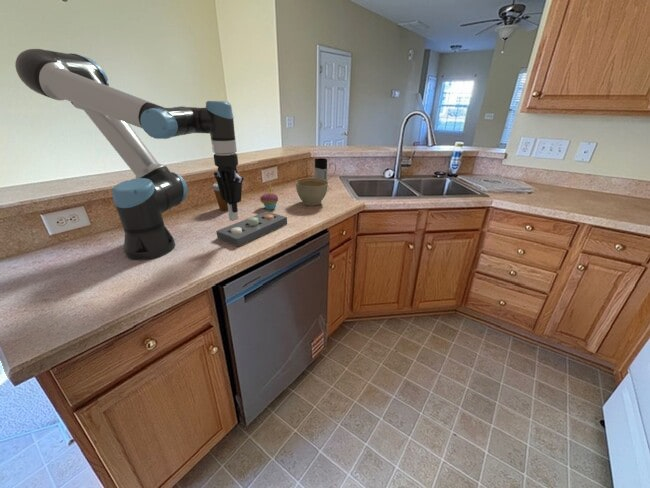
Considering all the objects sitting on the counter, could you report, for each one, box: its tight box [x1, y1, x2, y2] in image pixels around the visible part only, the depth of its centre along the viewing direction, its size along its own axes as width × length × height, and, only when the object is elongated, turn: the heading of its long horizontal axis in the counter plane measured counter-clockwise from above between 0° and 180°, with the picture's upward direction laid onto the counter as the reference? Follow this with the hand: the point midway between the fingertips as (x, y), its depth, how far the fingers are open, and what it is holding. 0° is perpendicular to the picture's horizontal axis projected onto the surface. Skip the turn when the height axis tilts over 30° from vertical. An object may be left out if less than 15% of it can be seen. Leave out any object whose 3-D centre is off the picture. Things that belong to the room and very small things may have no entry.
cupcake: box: [259, 184, 279, 210], centre depth 135 cm, size 9×8×12 cm
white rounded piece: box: [231, 227, 242, 235], centre depth 107 cm, size 4×4×4 cm
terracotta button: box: [264, 214, 274, 220], centre depth 119 cm, size 4×4×4 cm
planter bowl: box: [295, 177, 329, 207], centre depth 143 cm, size 16×16×11 cm
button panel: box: [215, 210, 288, 247], centre depth 113 cm, size 26×12×3 cm, turn 145°
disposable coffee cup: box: [212, 182, 228, 212], centre depth 134 cm, size 10×10×12 cm
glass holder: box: [314, 157, 337, 181], centre depth 174 cm, size 9×14×15 cm, turn 67°
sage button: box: [247, 216, 259, 227], centre depth 113 cm, size 4×4×4 cm
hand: (233, 219), depth 104 cm, fingers closed
